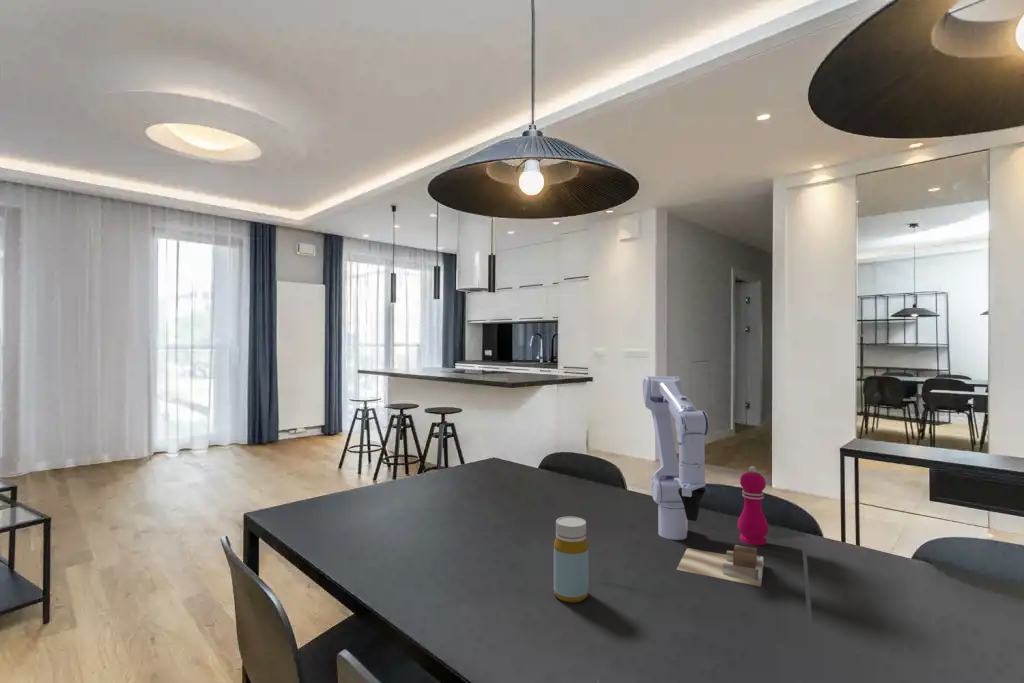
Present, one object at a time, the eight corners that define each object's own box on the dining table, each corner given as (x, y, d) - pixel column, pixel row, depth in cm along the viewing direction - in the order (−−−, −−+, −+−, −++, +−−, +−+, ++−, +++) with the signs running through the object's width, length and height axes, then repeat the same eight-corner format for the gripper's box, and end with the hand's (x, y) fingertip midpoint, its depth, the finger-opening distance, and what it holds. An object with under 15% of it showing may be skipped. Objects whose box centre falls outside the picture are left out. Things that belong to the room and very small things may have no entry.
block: (735, 564, 117) (735, 544, 117) (756, 568, 114) (756, 548, 115) (733, 572, 113) (733, 551, 113) (755, 576, 111) (755, 555, 111)
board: (687, 551, 126) (687, 539, 126) (763, 566, 118) (763, 553, 118) (676, 573, 114) (676, 560, 114) (760, 591, 106) (760, 576, 106)
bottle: (584, 586, 108) (584, 515, 108) (591, 603, 101) (591, 527, 101) (551, 587, 107) (552, 515, 108) (555, 604, 100) (556, 527, 101)
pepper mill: (772, 550, 127) (772, 470, 127) (741, 548, 129) (741, 468, 129) (764, 539, 134) (763, 463, 134) (734, 537, 136) (734, 462, 136)
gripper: (680, 454, 129) (680, 508, 129) (668, 466, 116) (668, 526, 116) (709, 457, 126) (709, 512, 125) (700, 469, 113) (700, 531, 113)
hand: (691, 519), depth 121 cm, fingers closed
